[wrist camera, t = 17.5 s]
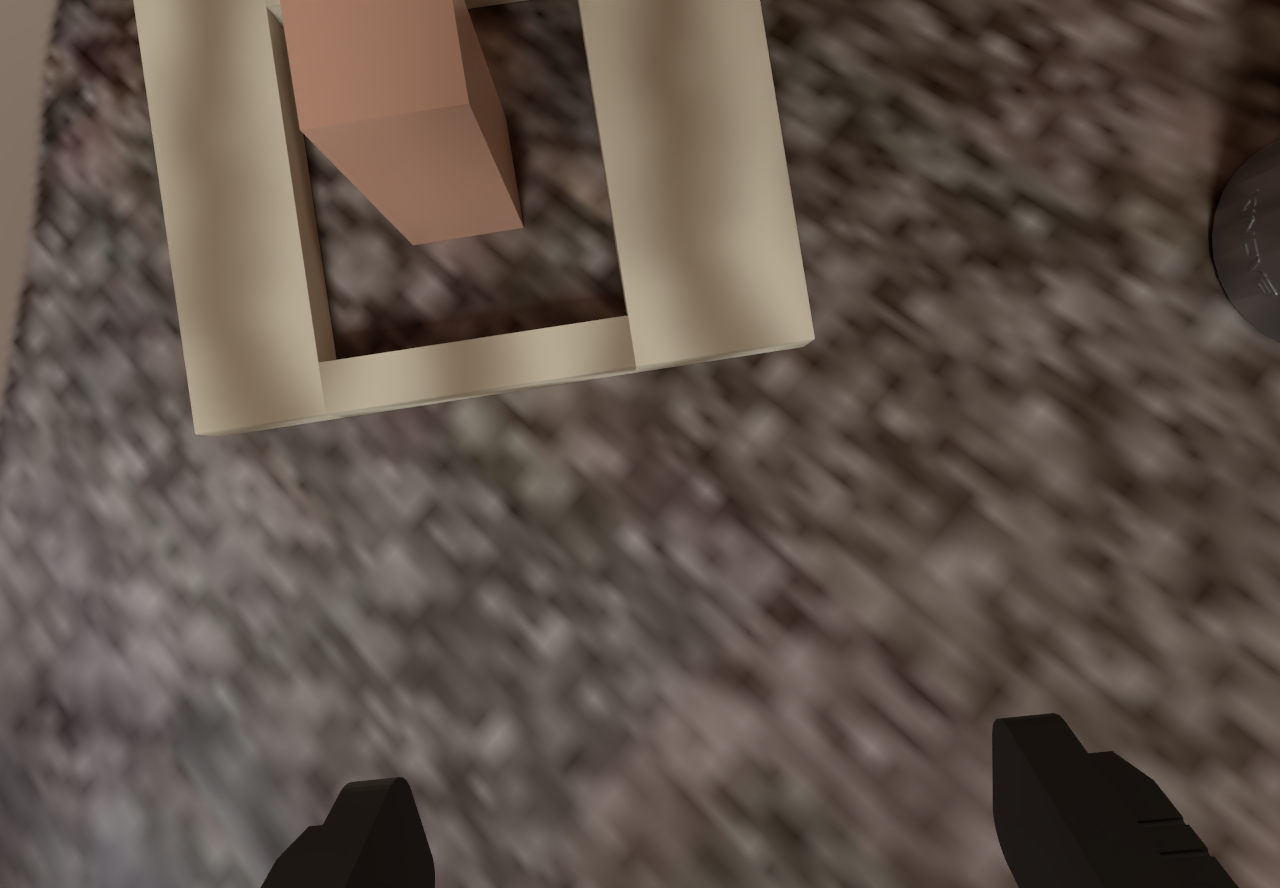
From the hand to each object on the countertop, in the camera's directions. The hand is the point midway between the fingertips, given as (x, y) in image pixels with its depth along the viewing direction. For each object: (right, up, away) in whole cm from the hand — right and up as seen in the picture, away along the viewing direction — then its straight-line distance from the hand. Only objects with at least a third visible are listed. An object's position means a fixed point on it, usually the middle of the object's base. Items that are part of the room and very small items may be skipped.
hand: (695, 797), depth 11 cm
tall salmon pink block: (-8, +16, +21) cm, 28 cm away
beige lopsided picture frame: (-7, +16, +21) cm, 28 cm away
